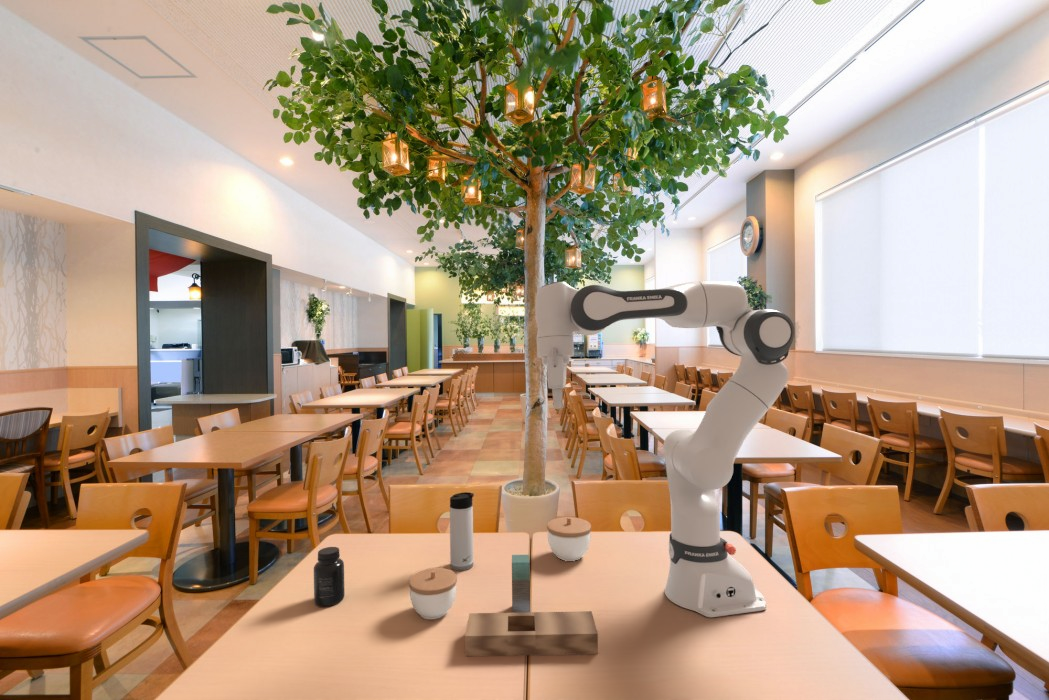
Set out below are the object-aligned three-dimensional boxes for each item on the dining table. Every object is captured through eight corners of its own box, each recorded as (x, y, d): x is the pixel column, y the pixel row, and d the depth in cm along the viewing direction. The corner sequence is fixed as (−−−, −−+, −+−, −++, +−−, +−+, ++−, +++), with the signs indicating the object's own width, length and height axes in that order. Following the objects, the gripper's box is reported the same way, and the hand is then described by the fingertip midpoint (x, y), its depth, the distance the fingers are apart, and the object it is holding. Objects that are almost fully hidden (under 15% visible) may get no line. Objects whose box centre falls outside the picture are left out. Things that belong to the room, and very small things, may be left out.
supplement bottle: (350, 596, 119) (350, 547, 119) (328, 610, 112) (328, 558, 112) (330, 590, 122) (329, 542, 121) (307, 604, 115) (306, 553, 115)
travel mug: (470, 572, 131) (469, 497, 130) (447, 569, 132) (446, 496, 132) (477, 561, 137) (476, 490, 137) (455, 559, 138) (454, 489, 138)
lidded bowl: (594, 566, 133) (593, 526, 133) (548, 566, 134) (547, 526, 133) (588, 546, 146) (588, 510, 146) (546, 547, 146) (546, 510, 146)
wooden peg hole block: (591, 629, 104) (591, 611, 104) (597, 653, 96) (597, 633, 96) (469, 632, 104) (469, 613, 103) (465, 656, 96) (465, 636, 95)
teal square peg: (529, 605, 114) (529, 554, 114) (530, 615, 110) (529, 562, 110) (512, 605, 114) (511, 554, 113) (512, 615, 110) (511, 562, 109)
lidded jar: (439, 595, 119) (439, 556, 119) (466, 612, 111) (466, 571, 111) (400, 612, 111) (400, 571, 111) (426, 631, 104) (426, 588, 104)
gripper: (568, 345, 106) (571, 409, 105) (568, 352, 127) (571, 405, 125) (539, 347, 107) (542, 410, 106) (544, 353, 127) (547, 406, 126)
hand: (558, 407), depth 116 cm, fingers open, 8 cm apart
